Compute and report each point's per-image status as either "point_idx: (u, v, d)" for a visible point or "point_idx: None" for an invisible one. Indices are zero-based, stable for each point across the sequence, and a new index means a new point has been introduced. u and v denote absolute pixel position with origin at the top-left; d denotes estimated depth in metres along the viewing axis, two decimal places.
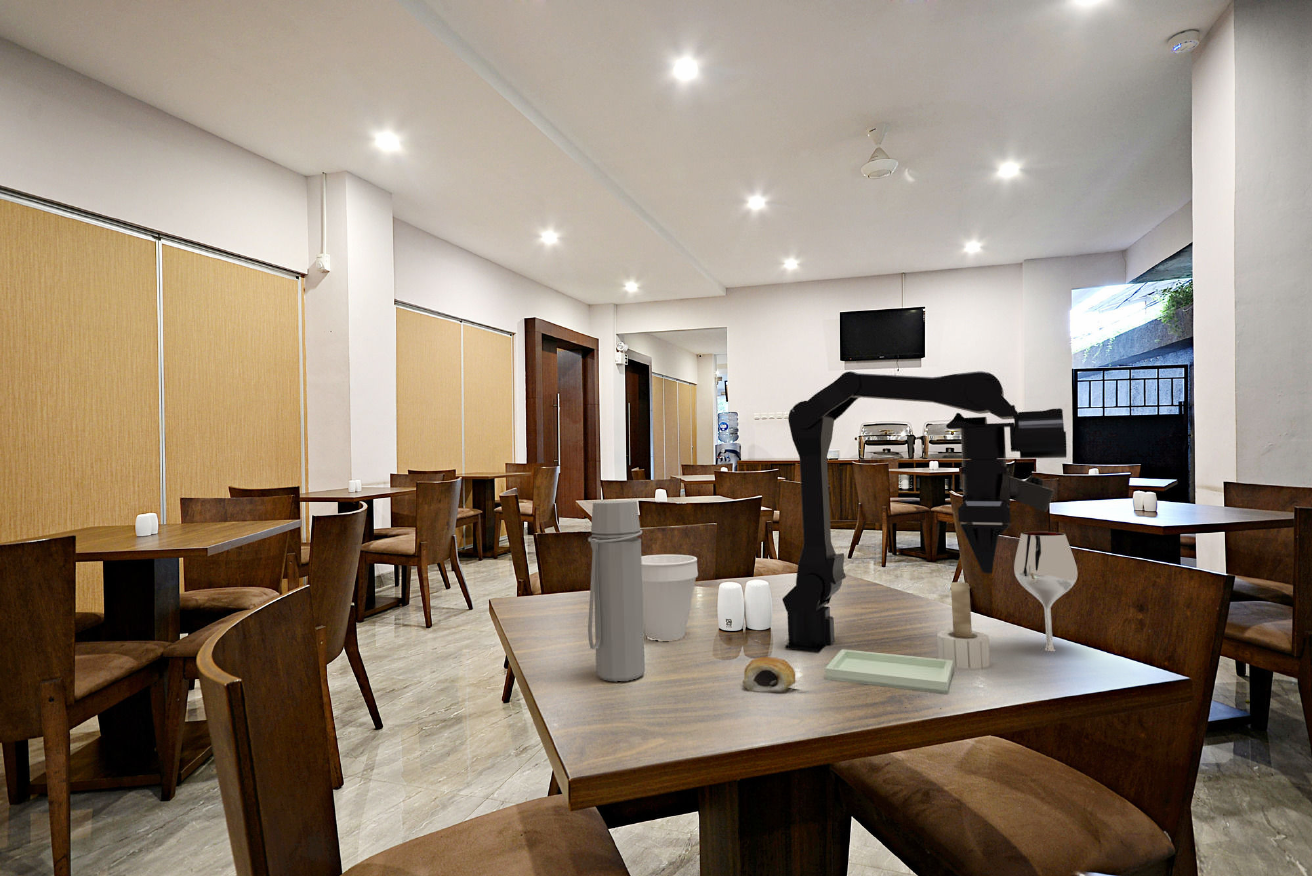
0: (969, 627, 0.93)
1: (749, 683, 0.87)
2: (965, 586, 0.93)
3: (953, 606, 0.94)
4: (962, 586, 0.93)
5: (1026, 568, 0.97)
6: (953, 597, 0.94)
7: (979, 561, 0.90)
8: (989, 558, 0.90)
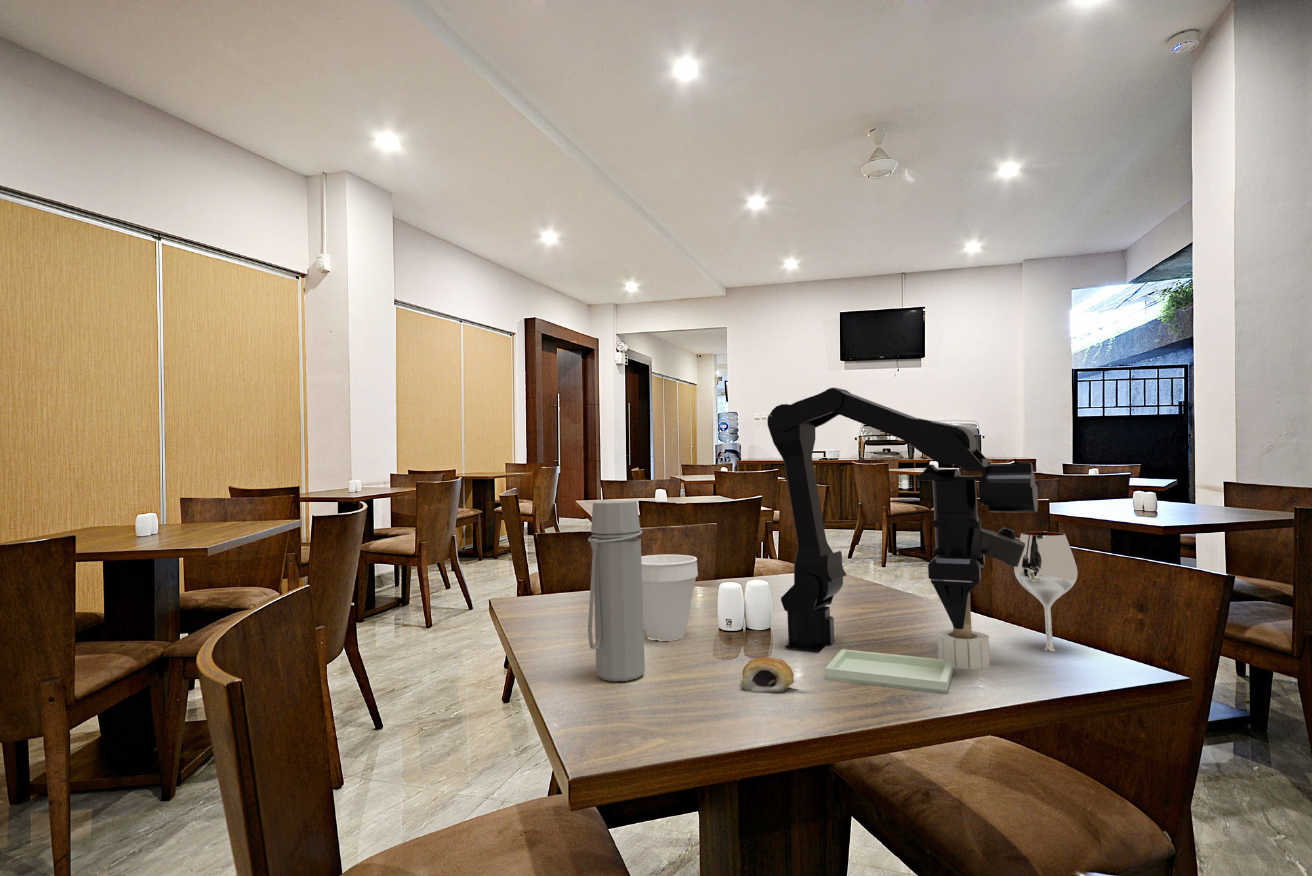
0: (969, 627, 0.93)
1: (747, 683, 0.87)
2: None
3: None
4: None
5: (1026, 568, 0.97)
6: None
7: (950, 617, 0.90)
8: (960, 614, 0.89)
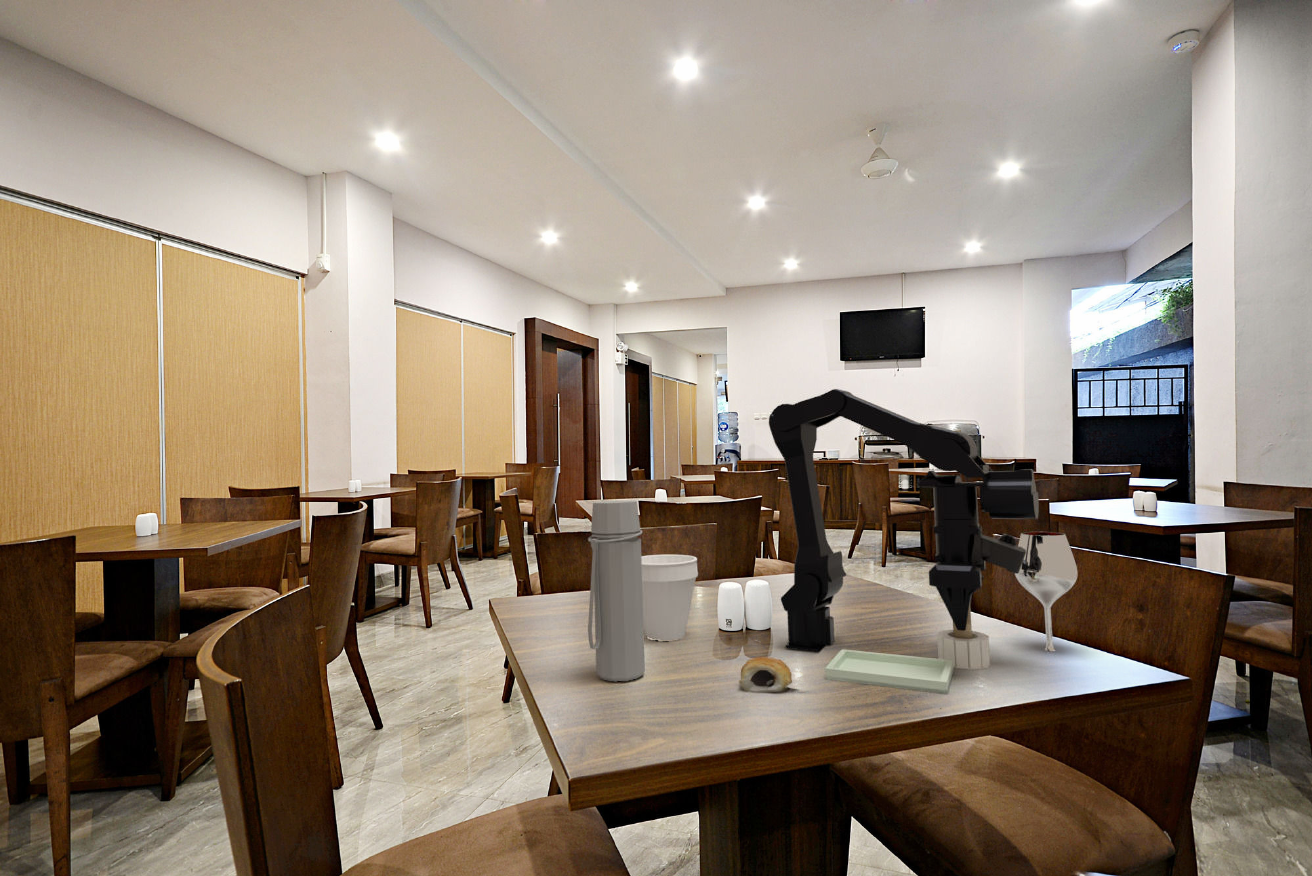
0: (969, 627, 0.93)
1: (745, 683, 0.87)
2: None
3: None
4: None
5: (1026, 568, 0.97)
6: None
7: (953, 618, 0.93)
8: (963, 615, 0.92)
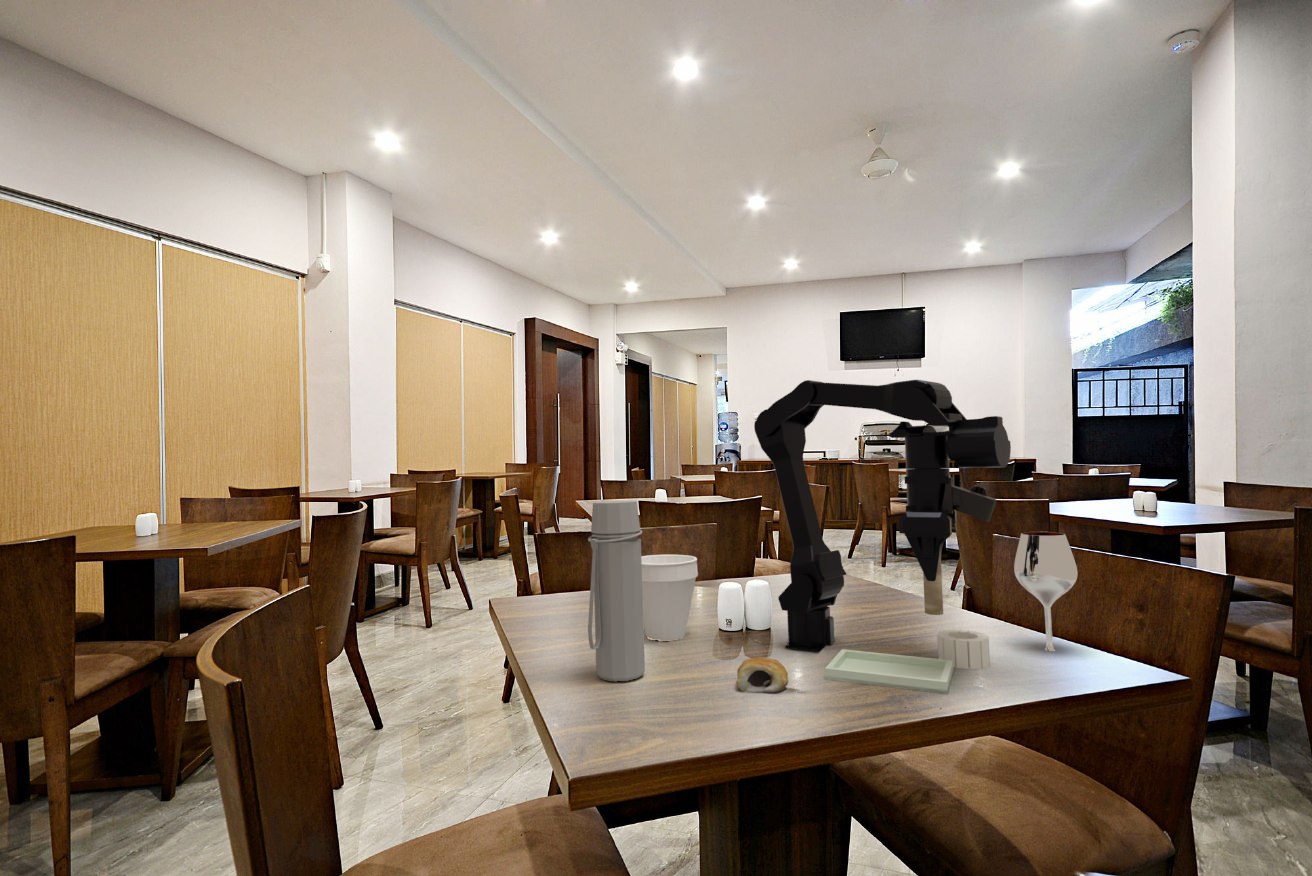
0: (939, 578, 0.92)
1: (742, 684, 0.86)
2: None
3: None
4: None
5: (1026, 568, 0.97)
6: None
7: (923, 569, 0.92)
8: (933, 566, 0.91)
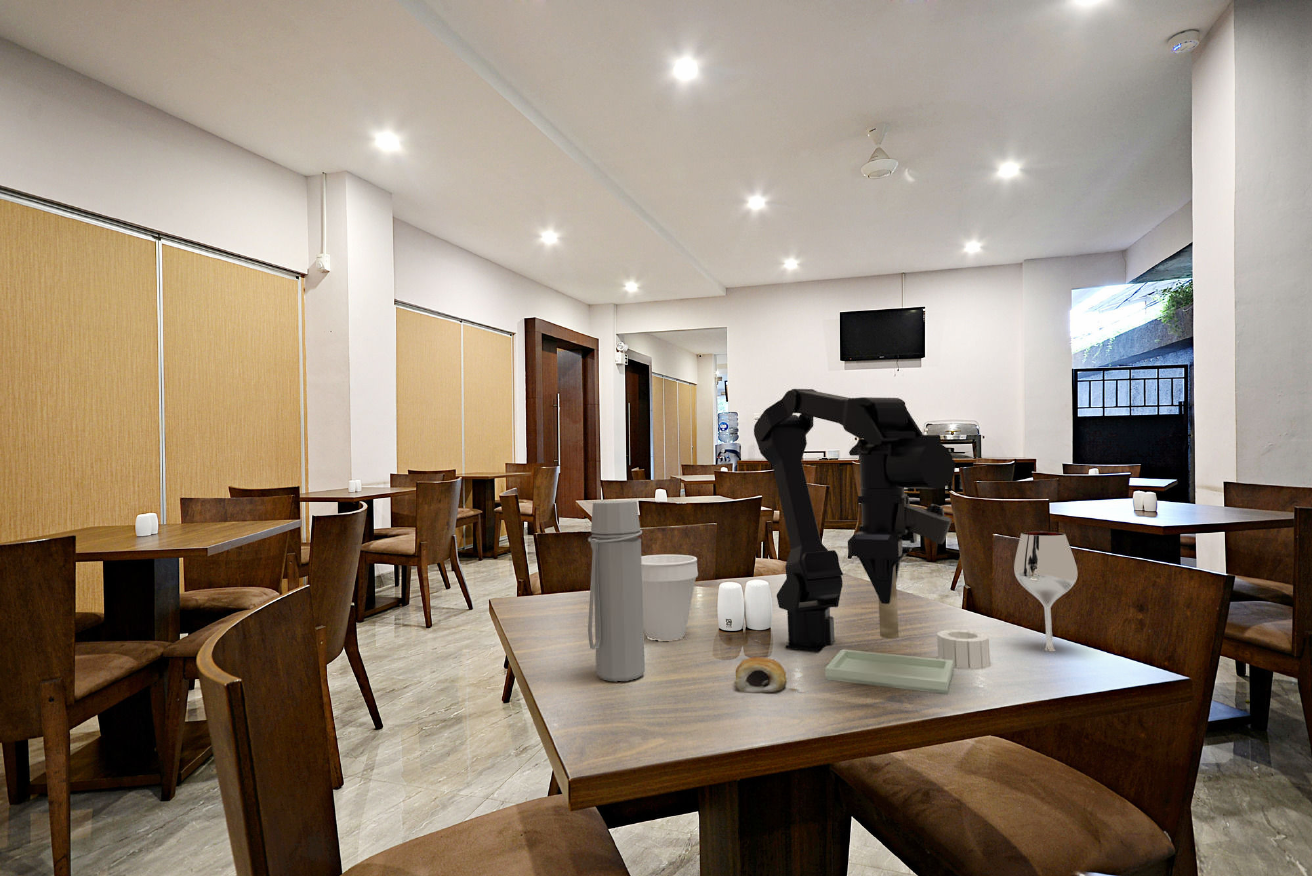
0: (894, 600, 0.89)
1: (741, 684, 0.86)
2: None
3: None
4: None
5: (1026, 568, 0.97)
6: None
7: (877, 591, 0.89)
8: (886, 588, 0.88)
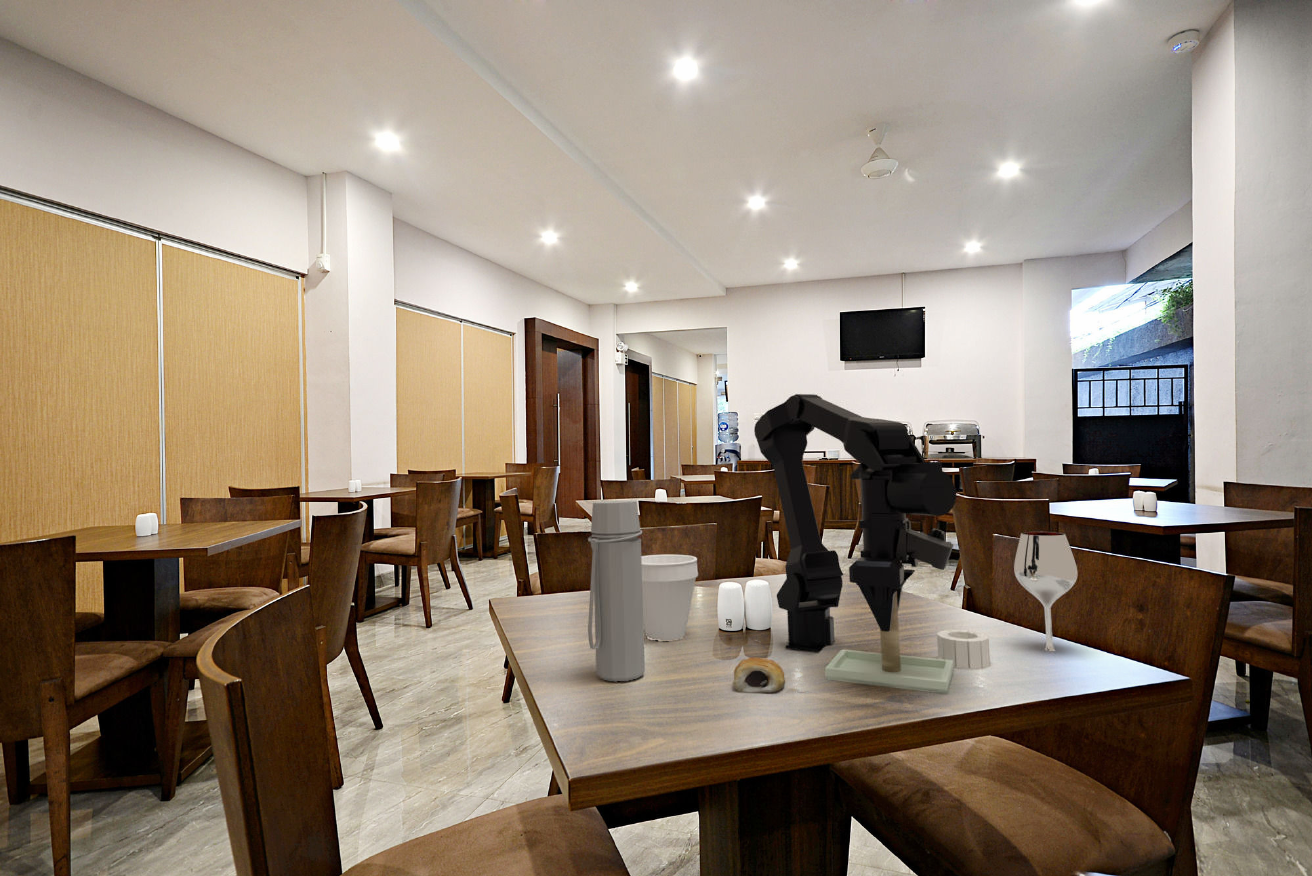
0: (896, 634, 0.89)
1: (739, 684, 0.86)
2: None
3: None
4: None
5: (1026, 568, 0.97)
6: None
7: (877, 619, 0.88)
8: (886, 616, 0.87)
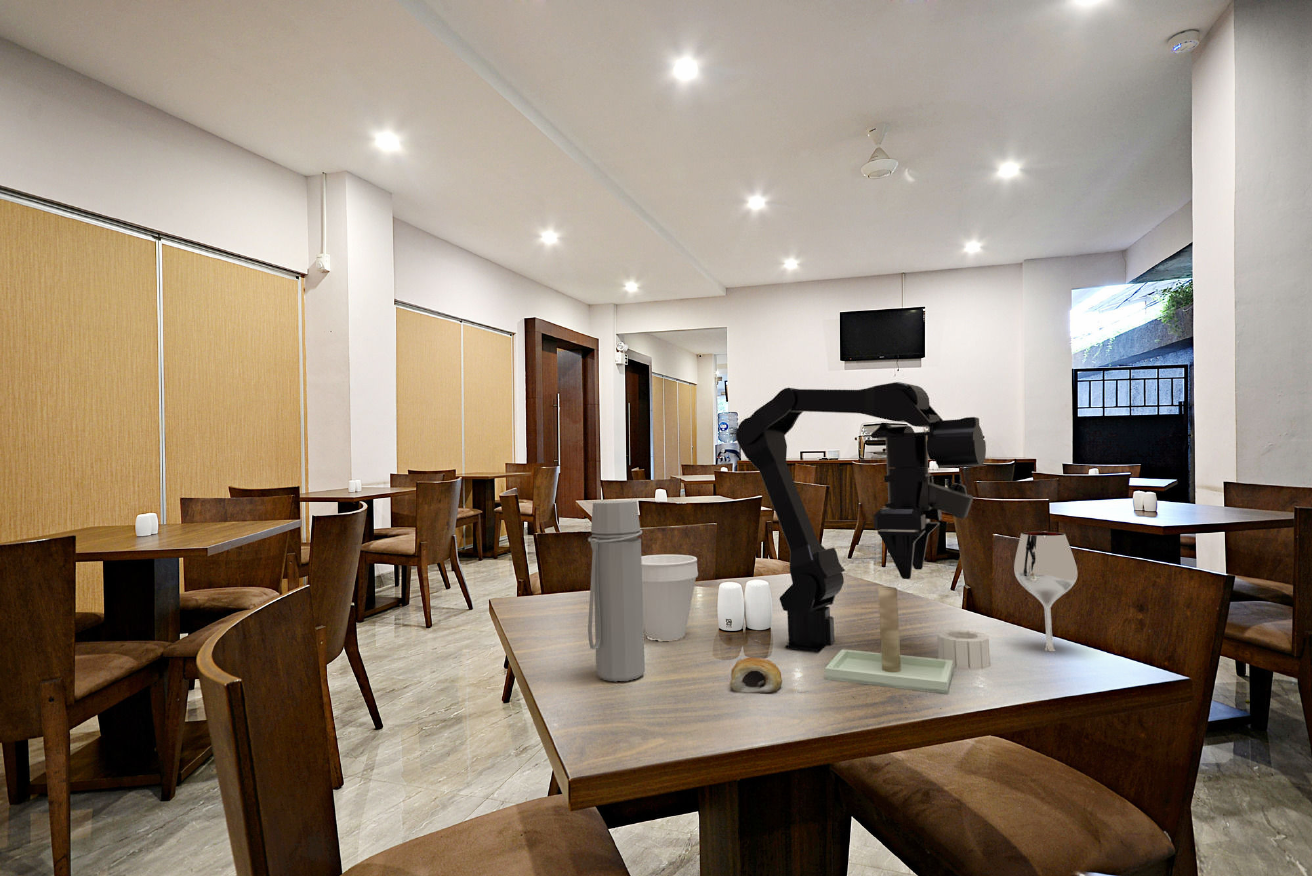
0: (896, 634, 0.89)
1: (737, 684, 0.86)
2: (892, 591, 0.89)
3: (880, 612, 0.90)
4: (889, 591, 0.89)
5: (1026, 568, 0.97)
6: (880, 602, 0.90)
7: (898, 567, 0.93)
8: (907, 564, 0.92)
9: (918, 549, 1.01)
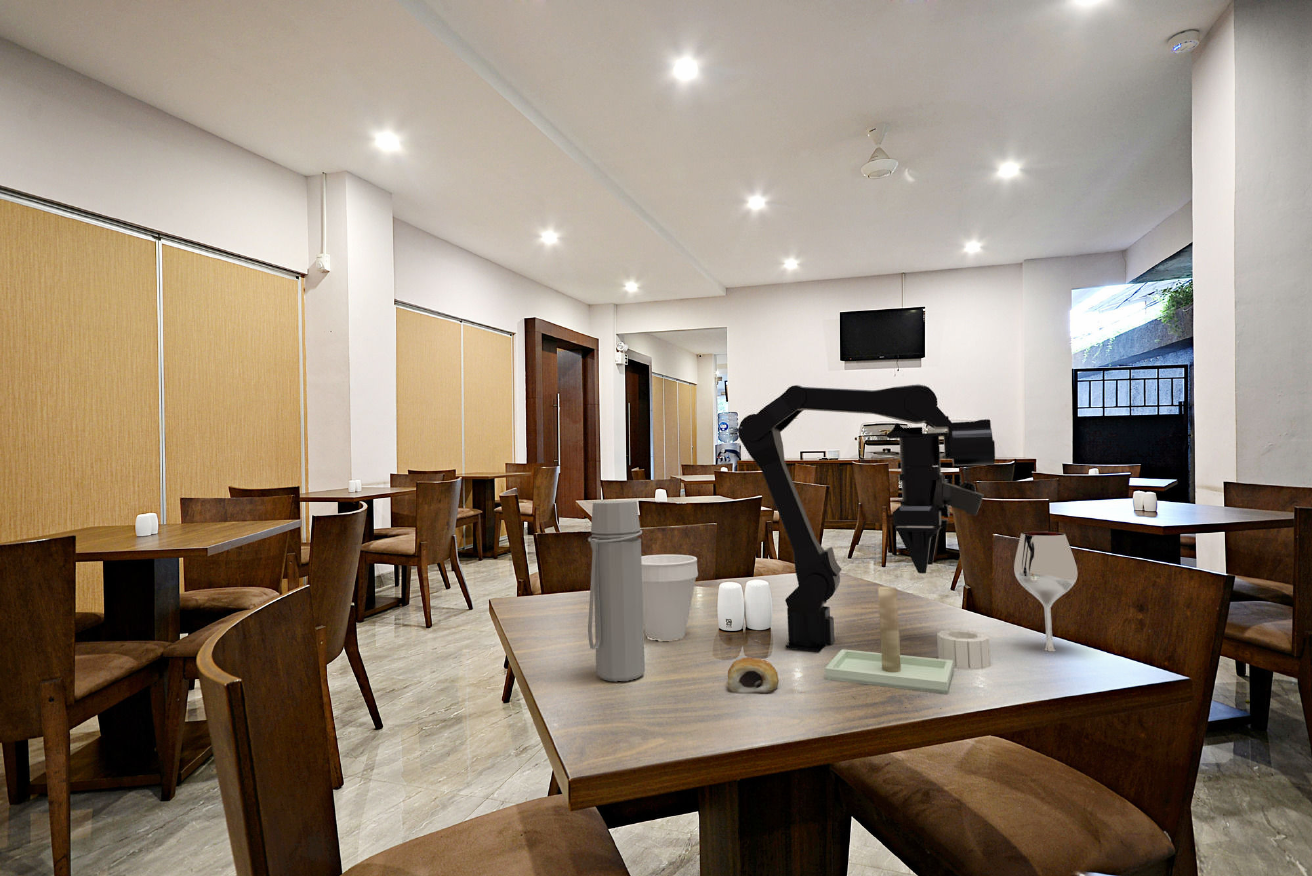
0: (896, 634, 0.89)
1: (733, 685, 0.86)
2: (892, 591, 0.89)
3: (880, 612, 0.90)
4: (889, 591, 0.89)
5: (1026, 568, 0.97)
6: (880, 602, 0.90)
7: (914, 562, 0.97)
8: (923, 559, 0.96)
9: None
